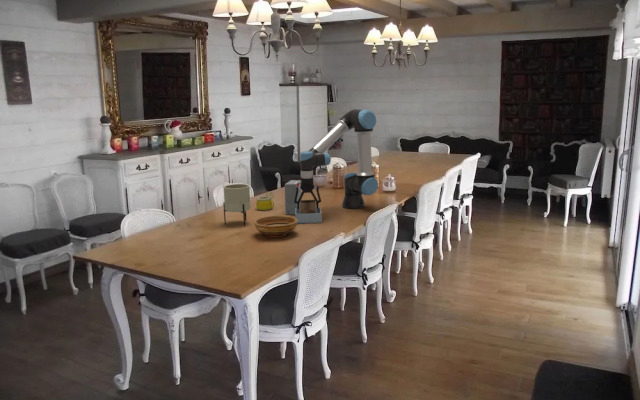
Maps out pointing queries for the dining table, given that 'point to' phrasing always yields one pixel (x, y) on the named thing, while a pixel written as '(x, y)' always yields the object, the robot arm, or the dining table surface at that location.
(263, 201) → the mug
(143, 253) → the dining table surface
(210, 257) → the dining table surface
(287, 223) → the tan woven oval bowl
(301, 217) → the grey crate
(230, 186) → the planter
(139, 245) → the dining table surface
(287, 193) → the hard drive box
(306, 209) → the walnut crate
